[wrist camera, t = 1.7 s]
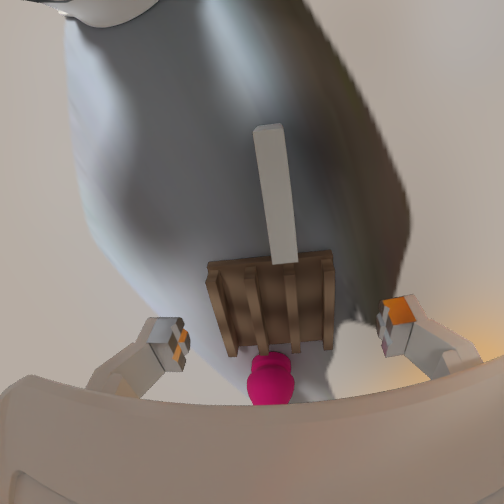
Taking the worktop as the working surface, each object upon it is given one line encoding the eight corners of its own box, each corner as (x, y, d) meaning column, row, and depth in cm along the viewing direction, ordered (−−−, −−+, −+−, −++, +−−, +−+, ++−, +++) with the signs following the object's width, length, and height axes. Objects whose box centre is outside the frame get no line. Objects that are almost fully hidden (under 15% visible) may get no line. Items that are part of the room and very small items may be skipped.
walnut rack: (208, 261, 35) (202, 279, 32) (331, 249, 33) (336, 266, 30) (231, 340, 41) (228, 359, 38) (330, 332, 39) (333, 351, 36)
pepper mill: (255, 377, 46) (246, 484, 29) (243, 352, 43) (228, 471, 25) (296, 372, 45) (299, 482, 27) (289, 346, 41) (291, 470, 24)
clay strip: (256, 126, 27) (252, 131, 21) (280, 123, 26) (283, 128, 20) (272, 231, 32) (272, 264, 26) (293, 229, 32) (298, 261, 26)
